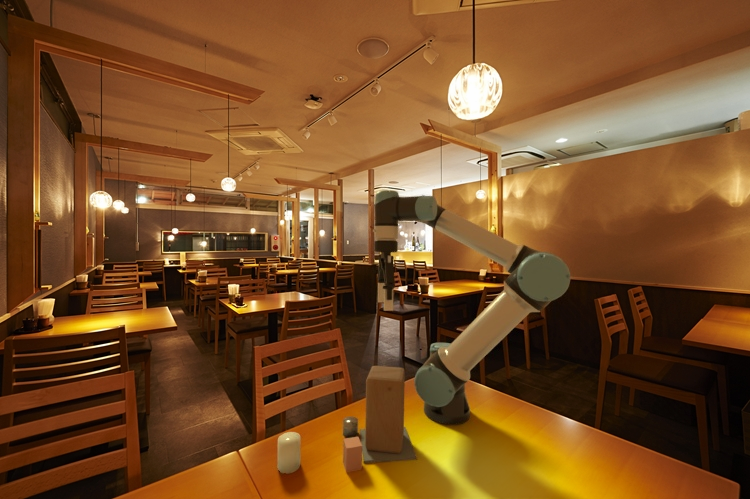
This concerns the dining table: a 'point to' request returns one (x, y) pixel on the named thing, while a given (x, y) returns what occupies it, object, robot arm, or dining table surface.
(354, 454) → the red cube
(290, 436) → the cream rounded cylinder
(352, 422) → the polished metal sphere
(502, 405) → the dining table surface
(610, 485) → the dining table surface
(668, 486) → the dining table surface
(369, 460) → the mat
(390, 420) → the wooden block
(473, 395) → the dining table surface
